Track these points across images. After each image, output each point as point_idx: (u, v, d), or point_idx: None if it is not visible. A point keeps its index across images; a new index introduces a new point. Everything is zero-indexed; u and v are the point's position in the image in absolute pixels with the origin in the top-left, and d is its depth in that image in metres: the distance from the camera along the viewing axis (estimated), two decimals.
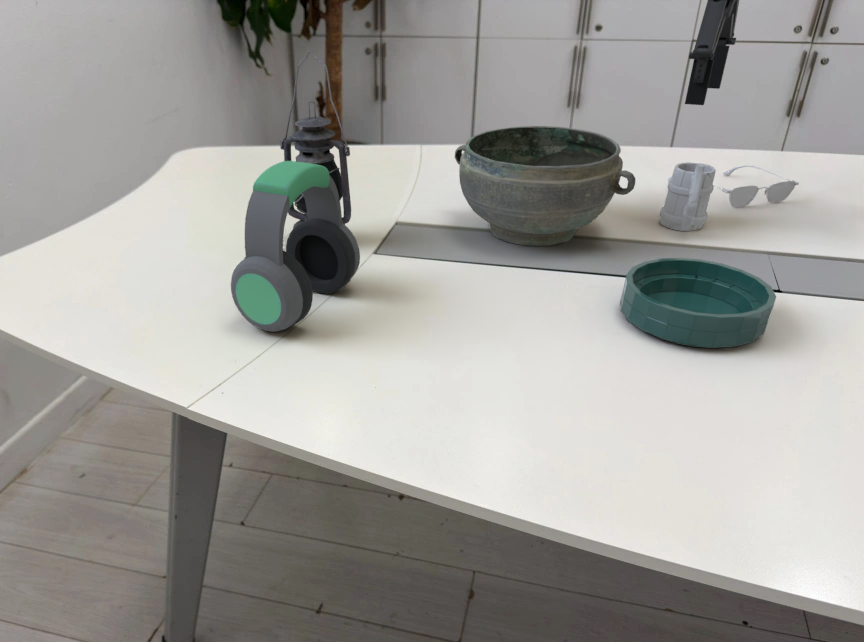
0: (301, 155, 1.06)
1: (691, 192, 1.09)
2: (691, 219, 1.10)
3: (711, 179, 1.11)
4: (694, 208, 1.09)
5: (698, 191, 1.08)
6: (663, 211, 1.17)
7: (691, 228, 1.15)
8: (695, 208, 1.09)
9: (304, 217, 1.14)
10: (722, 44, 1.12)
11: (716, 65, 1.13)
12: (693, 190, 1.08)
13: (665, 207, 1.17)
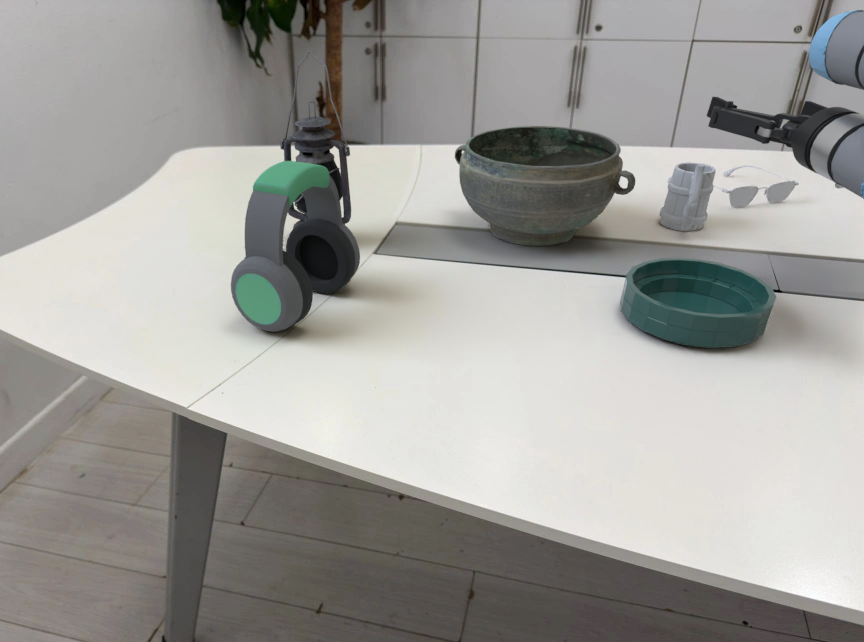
0: (301, 155, 1.06)
1: (691, 192, 1.09)
2: (691, 219, 1.10)
3: (711, 179, 1.11)
4: (694, 208, 1.09)
5: (698, 191, 1.08)
6: (663, 211, 1.17)
7: (691, 228, 1.15)
8: (695, 208, 1.09)
9: (304, 217, 1.14)
10: None
11: None
12: (693, 190, 1.08)
13: (665, 207, 1.17)
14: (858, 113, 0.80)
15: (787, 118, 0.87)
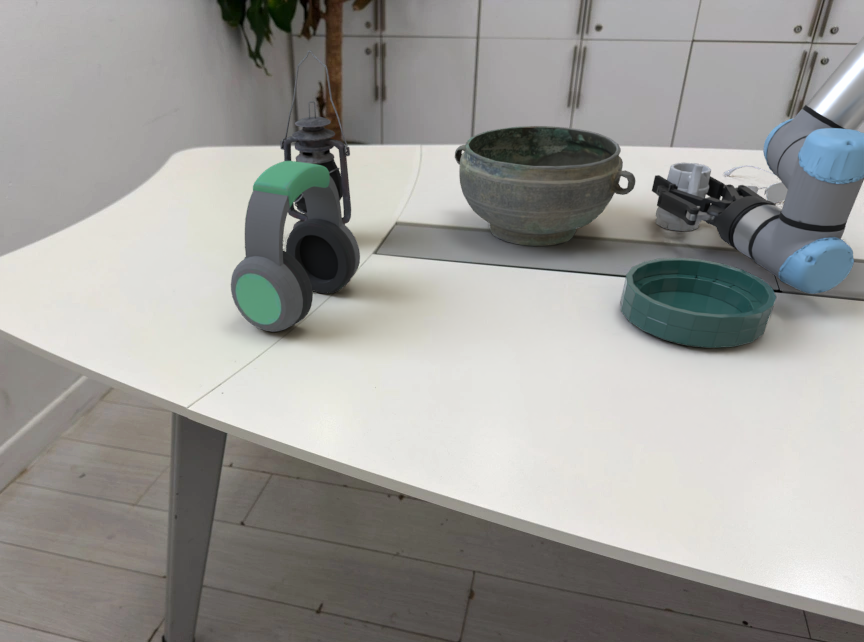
0: (301, 155, 1.06)
1: (690, 192, 1.09)
2: None
3: (707, 179, 1.12)
4: None
5: (696, 191, 1.08)
6: (659, 211, 1.17)
7: (688, 228, 1.15)
8: None
9: (304, 217, 1.14)
10: None
11: None
12: (691, 191, 1.08)
13: None
14: (767, 203, 0.97)
15: (710, 203, 1.04)
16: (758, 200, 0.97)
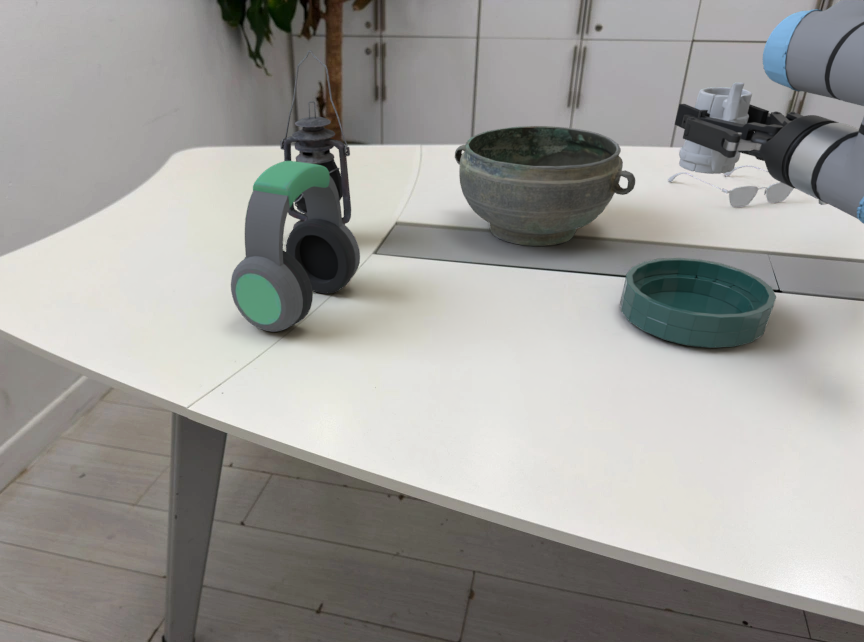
0: (301, 155, 1.06)
1: (726, 119, 0.84)
2: None
3: (747, 105, 0.88)
4: None
5: (734, 118, 0.84)
6: (685, 150, 0.93)
7: (721, 169, 0.91)
8: None
9: (304, 217, 1.14)
10: None
11: None
12: (728, 117, 0.84)
13: (687, 145, 0.93)
14: (835, 121, 0.73)
15: (754, 129, 0.80)
16: (822, 119, 0.73)
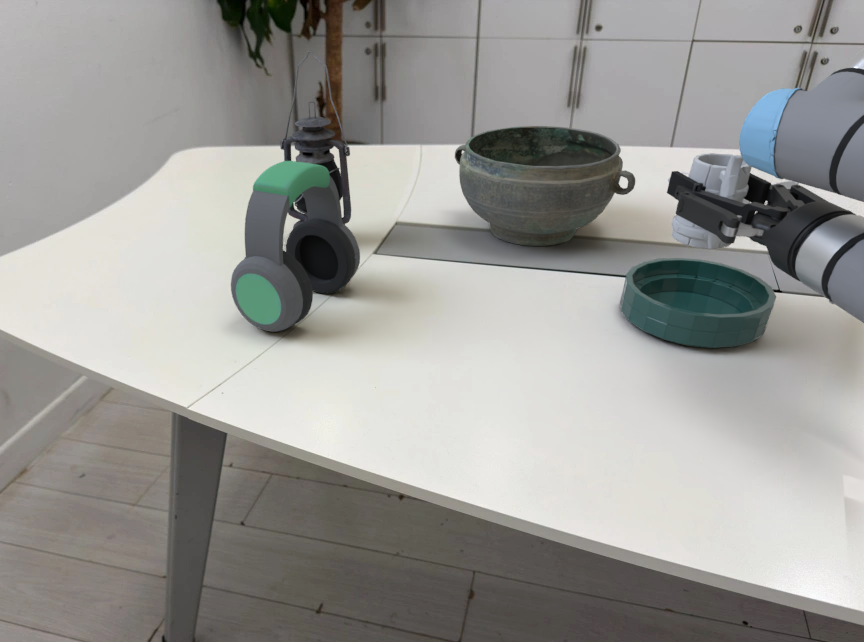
0: (301, 155, 1.06)
1: (724, 195, 0.76)
2: None
3: (747, 176, 0.79)
4: None
5: (733, 194, 0.75)
6: (678, 222, 0.84)
7: (718, 244, 0.82)
8: None
9: (304, 217, 1.14)
10: None
11: None
12: (726, 193, 0.76)
13: None
14: (847, 211, 0.64)
15: None
16: (833, 207, 0.65)
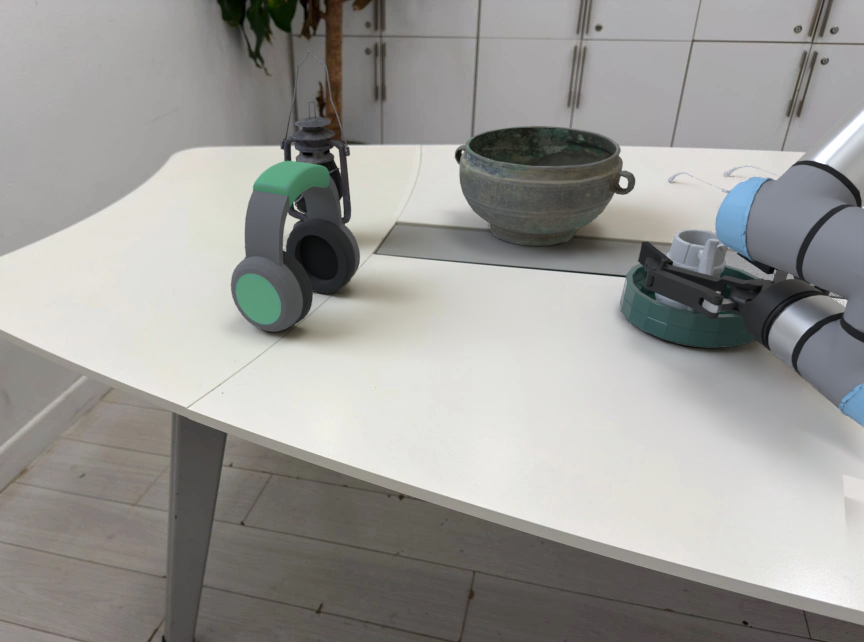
0: (301, 155, 1.06)
1: None
2: None
3: (724, 254, 0.84)
4: None
5: (710, 274, 0.81)
6: None
7: None
8: None
9: (304, 217, 1.14)
10: None
11: None
12: (703, 273, 0.81)
13: None
14: (816, 291, 0.69)
15: (733, 284, 0.75)
16: (804, 287, 0.69)
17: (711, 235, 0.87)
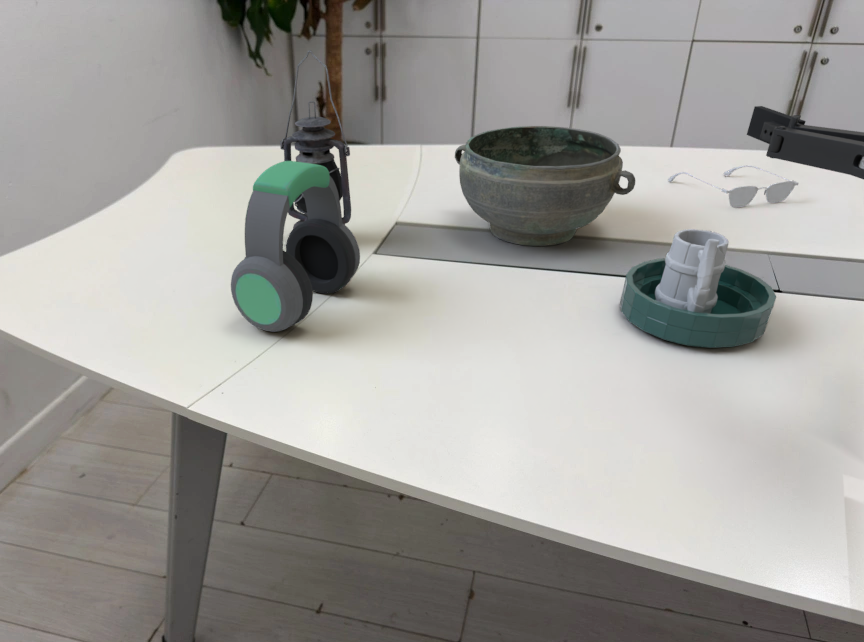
0: (301, 155, 1.06)
1: (701, 275, 0.81)
2: (701, 309, 0.83)
3: (724, 254, 0.84)
4: (705, 295, 0.82)
5: (710, 274, 0.81)
6: (660, 292, 0.90)
7: None
8: (707, 295, 0.82)
9: (304, 217, 1.14)
10: None
11: None
12: (703, 273, 0.81)
13: (663, 287, 0.89)
14: None
15: None
16: None
17: (711, 235, 0.87)
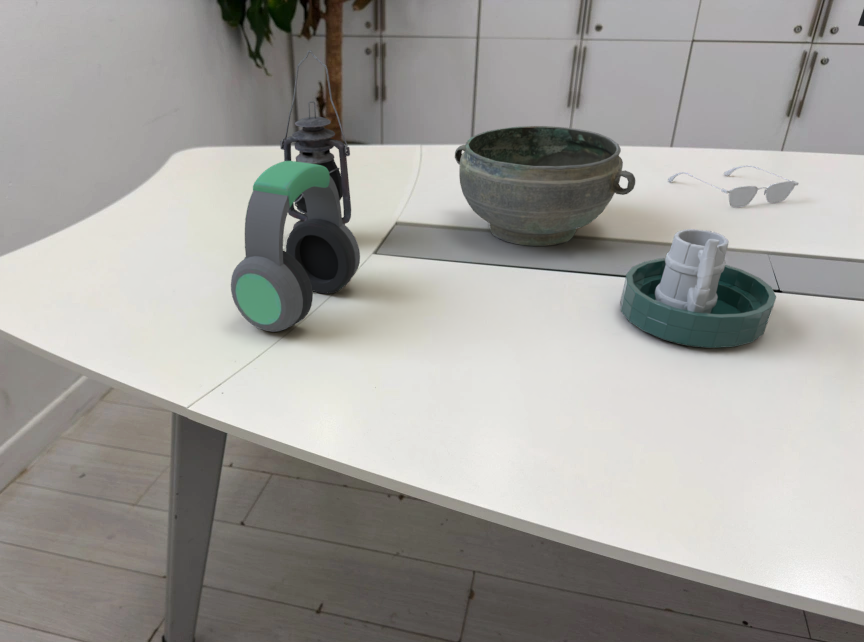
0: (301, 155, 1.06)
1: (701, 275, 0.81)
2: (701, 309, 0.83)
3: (724, 254, 0.84)
4: (705, 295, 0.82)
5: (710, 274, 0.81)
6: (660, 292, 0.90)
7: None
8: (707, 295, 0.82)
9: (304, 217, 1.14)
10: None
11: None
12: (703, 273, 0.81)
13: (663, 287, 0.89)
14: None
15: None
16: None
17: (711, 235, 0.87)
